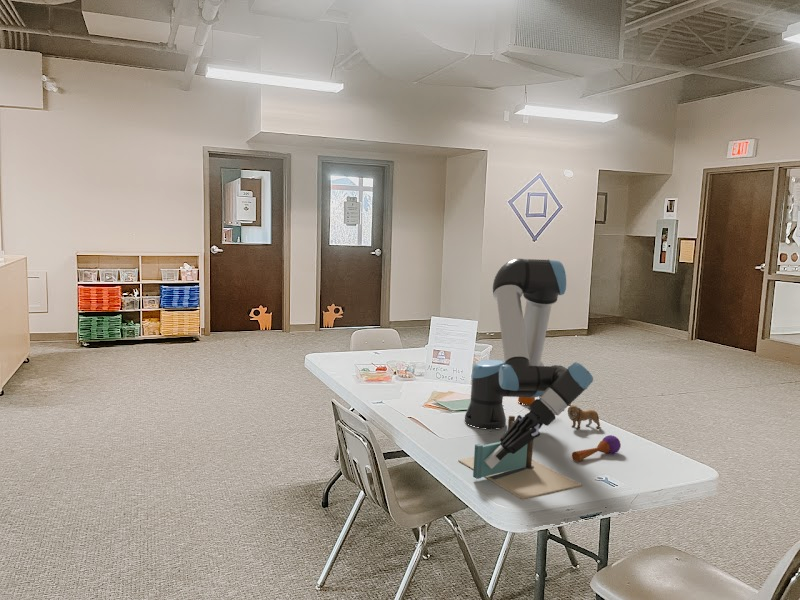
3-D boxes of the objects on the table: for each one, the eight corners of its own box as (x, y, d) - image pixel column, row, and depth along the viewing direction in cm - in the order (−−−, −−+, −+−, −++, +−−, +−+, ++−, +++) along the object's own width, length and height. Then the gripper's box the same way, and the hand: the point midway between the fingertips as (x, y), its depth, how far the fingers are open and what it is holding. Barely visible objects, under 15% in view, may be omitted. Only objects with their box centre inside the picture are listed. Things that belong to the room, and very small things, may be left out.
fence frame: (505, 447, 210) (507, 415, 209) (511, 447, 211) (513, 415, 209) (525, 469, 192) (528, 434, 191) (532, 469, 192) (534, 434, 191)
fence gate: (522, 464, 193) (524, 434, 192) (526, 466, 192) (528, 436, 190) (473, 476, 182) (475, 444, 181) (477, 479, 181) (479, 446, 179)
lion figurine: (571, 431, 231) (573, 407, 229) (562, 427, 235) (564, 403, 234) (604, 428, 236) (606, 405, 235) (594, 424, 241) (596, 401, 240)
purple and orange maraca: (567, 446, 203) (608, 432, 214) (569, 464, 203) (610, 450, 214) (582, 448, 198) (623, 434, 209) (584, 467, 198) (625, 452, 209)
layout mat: (458, 461, 196) (458, 459, 196) (513, 451, 207) (513, 449, 207) (522, 499, 171) (522, 497, 171) (581, 485, 182) (581, 484, 181)
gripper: (564, 423, 176) (503, 482, 175) (546, 409, 189) (489, 464, 188) (548, 404, 175) (486, 464, 174) (530, 392, 188) (472, 448, 187)
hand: (487, 464), depth 181 cm, fingers closed
